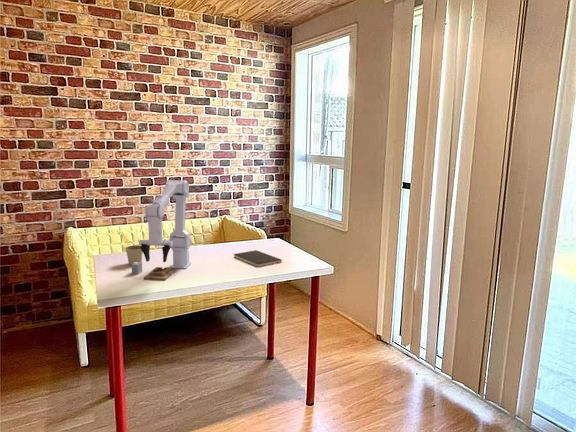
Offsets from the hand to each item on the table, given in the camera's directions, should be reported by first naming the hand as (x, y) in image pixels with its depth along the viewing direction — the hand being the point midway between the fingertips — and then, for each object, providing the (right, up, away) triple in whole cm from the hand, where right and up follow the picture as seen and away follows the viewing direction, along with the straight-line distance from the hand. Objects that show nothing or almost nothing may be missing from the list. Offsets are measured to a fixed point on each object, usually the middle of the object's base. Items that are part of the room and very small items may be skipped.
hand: (156, 261), depth 183 cm
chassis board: (-2, -8, +12) cm, 15 cm away
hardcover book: (+42, -5, +43) cm, 60 cm away
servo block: (-14, -7, +15) cm, 22 cm away
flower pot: (-20, -5, +29) cm, 36 cm away
